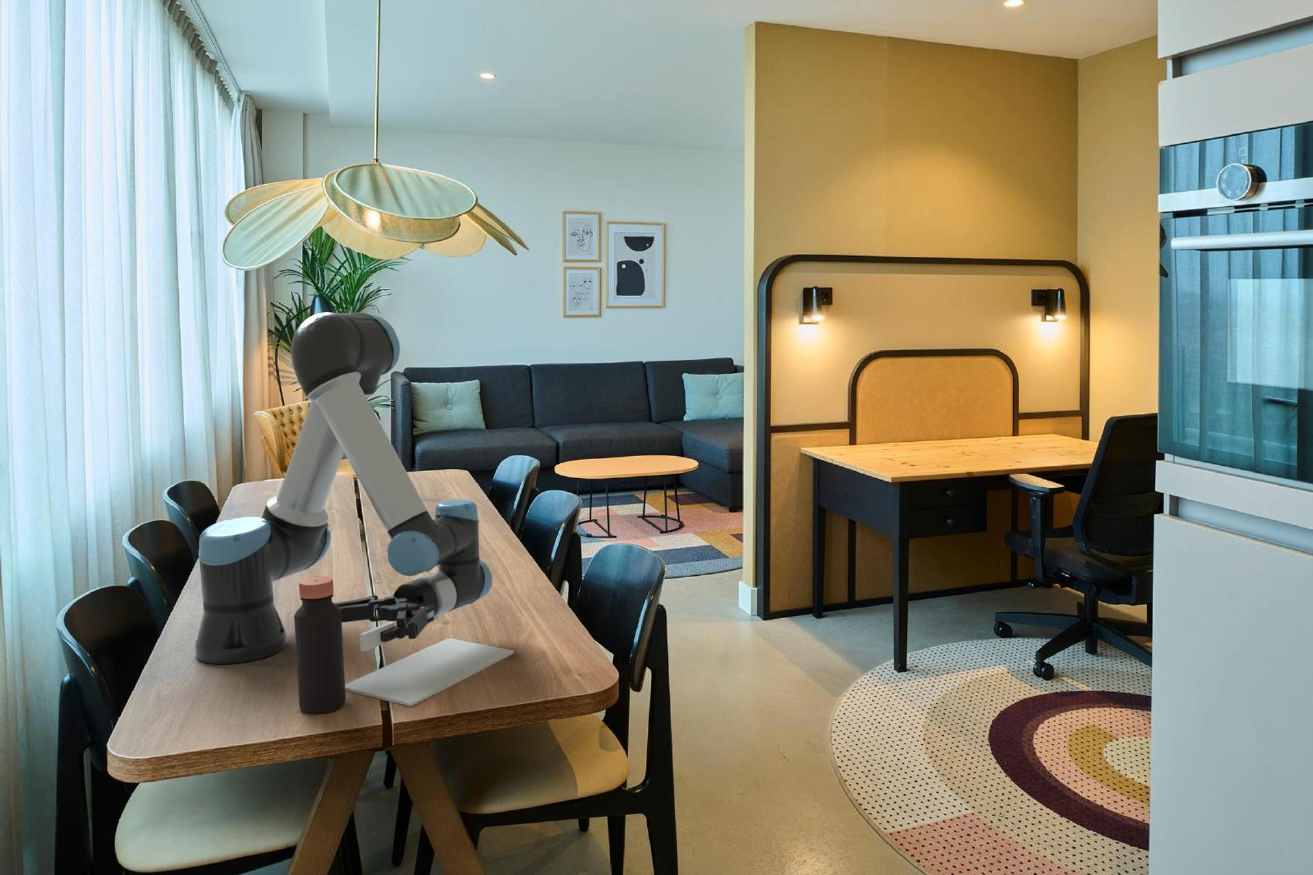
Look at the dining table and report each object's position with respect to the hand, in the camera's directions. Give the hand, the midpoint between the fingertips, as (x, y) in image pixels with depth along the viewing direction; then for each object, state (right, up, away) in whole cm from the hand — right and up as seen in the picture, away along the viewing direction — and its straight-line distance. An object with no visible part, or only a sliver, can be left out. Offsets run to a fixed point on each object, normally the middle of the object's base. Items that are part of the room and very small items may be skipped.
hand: (329, 636), depth 143 cm
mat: (+12, -9, +15) cm, 21 cm away
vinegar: (-1, -11, +1) cm, 11 cm away
